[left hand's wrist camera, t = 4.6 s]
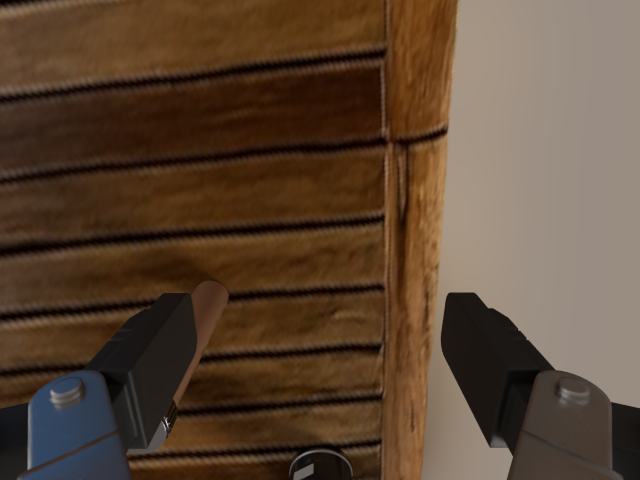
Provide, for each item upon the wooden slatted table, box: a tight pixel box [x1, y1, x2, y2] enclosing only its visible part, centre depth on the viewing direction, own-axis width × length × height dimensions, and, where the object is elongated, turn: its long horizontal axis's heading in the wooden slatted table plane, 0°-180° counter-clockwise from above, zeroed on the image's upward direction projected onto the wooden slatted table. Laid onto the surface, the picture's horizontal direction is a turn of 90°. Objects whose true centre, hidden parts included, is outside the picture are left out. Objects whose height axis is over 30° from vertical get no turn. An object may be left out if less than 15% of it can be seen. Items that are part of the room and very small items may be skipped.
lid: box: [127, 399, 178, 454], centre depth 27 cm, size 5×5×2 cm
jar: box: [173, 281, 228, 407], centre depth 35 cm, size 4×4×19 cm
